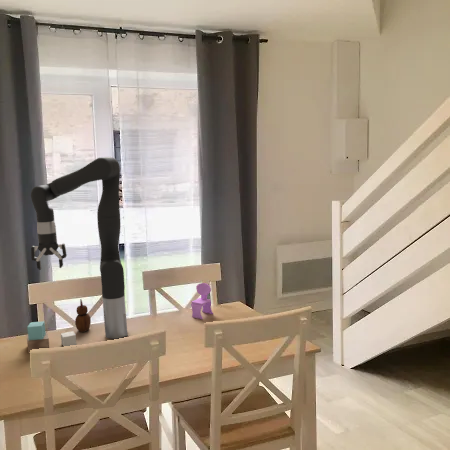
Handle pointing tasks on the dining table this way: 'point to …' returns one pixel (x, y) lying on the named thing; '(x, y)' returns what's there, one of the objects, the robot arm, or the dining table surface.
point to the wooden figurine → (82, 318)
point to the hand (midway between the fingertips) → (50, 268)
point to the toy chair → (201, 301)
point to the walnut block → (38, 343)
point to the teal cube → (36, 330)
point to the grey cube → (68, 338)
